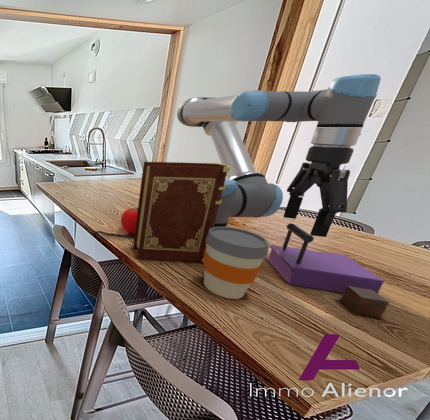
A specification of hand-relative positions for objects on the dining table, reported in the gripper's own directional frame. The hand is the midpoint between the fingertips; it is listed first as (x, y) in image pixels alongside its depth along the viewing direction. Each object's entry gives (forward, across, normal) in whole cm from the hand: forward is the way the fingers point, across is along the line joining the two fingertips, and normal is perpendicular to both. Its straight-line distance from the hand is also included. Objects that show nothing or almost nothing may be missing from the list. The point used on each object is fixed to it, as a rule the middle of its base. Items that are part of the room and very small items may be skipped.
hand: (302, 226), depth 67 cm
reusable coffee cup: (+15, -15, +19) cm, 29 cm away
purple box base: (+15, 0, -7) cm, 16 cm away
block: (+15, -13, -9) cm, 21 cm away
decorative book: (+15, -1, +31) cm, 35 cm away
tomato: (+15, +14, +43) cm, 48 cm away
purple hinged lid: (+10, 0, -6) cm, 12 cm away
